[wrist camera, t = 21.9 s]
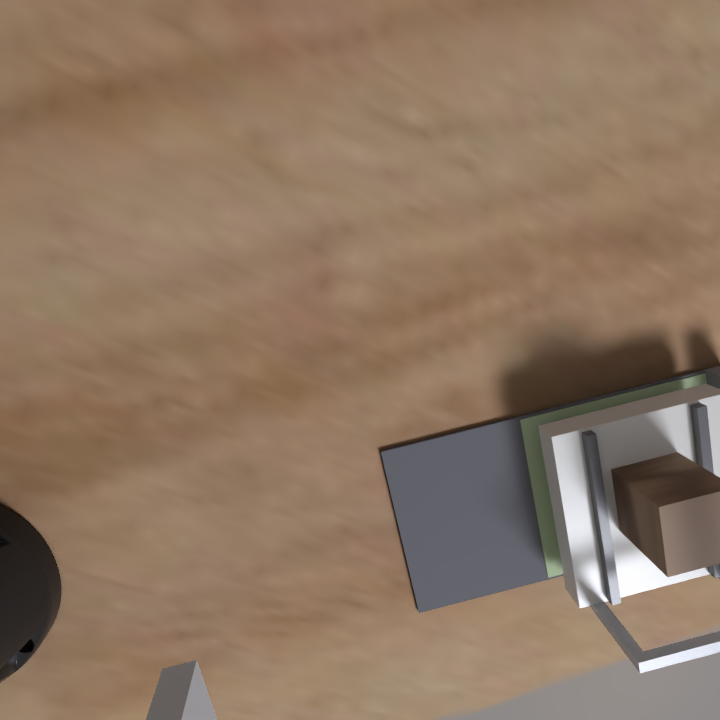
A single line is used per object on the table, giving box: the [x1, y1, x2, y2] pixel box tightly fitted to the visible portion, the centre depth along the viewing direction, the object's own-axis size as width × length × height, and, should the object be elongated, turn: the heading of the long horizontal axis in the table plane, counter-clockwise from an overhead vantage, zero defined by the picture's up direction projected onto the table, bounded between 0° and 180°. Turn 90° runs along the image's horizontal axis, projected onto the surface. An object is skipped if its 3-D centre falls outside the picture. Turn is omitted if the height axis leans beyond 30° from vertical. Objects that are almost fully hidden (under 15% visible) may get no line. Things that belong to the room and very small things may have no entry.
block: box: [611, 452, 720, 577], centre depth 41 cm, size 5×5×6 cm
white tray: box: [538, 384, 720, 673], centre depth 43 cm, size 13×15×10 cm
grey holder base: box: [381, 366, 720, 613], centre depth 46 cm, size 28×14×4 cm, turn 103°
